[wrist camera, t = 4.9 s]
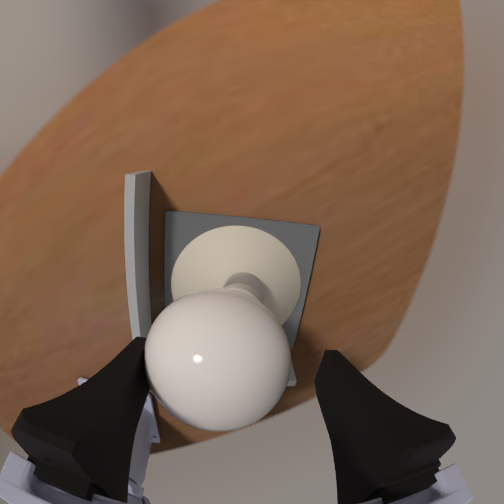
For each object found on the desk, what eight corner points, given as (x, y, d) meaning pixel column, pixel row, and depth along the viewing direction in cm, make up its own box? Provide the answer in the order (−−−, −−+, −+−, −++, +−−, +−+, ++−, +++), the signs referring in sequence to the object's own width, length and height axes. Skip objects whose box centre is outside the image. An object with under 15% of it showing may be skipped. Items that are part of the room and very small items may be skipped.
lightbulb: (308, 262, 18) (321, 387, 7) (273, 338, 20) (251, 470, 9) (215, 226, 18) (119, 310, 8) (191, 307, 20) (116, 418, 10)
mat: (292, 346, 22) (293, 349, 21) (167, 337, 21) (166, 340, 20) (318, 225, 18) (320, 226, 18) (166, 210, 17) (165, 211, 17)
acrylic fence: (286, 368, 23) (292, 393, 20) (148, 357, 21) (139, 381, 19) (324, 188, 18) (341, 195, 15) (142, 170, 16) (125, 174, 14)
